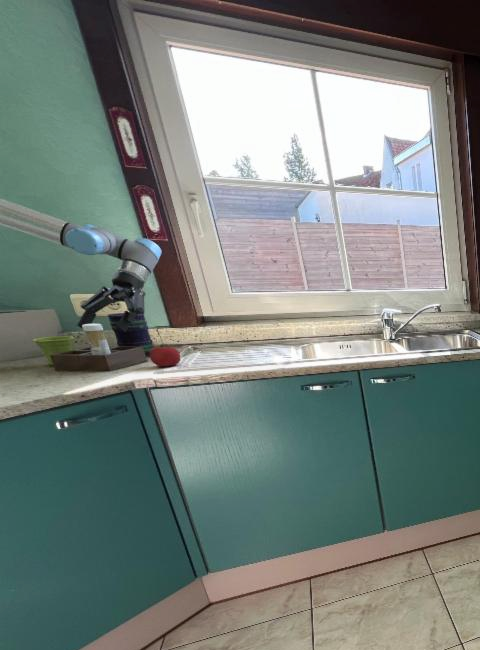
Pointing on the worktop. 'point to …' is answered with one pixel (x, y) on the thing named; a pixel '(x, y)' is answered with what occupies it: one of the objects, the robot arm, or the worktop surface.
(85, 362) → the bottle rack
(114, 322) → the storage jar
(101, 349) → the sprinkles bottle
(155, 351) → the tomato
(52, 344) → the plant pot
